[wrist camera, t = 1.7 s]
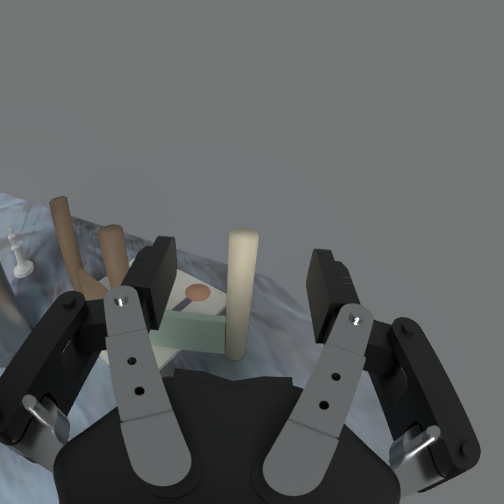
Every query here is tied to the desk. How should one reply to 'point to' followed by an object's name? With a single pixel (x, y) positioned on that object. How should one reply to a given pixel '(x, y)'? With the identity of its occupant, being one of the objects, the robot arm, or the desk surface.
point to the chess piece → (19, 258)
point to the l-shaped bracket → (215, 326)
